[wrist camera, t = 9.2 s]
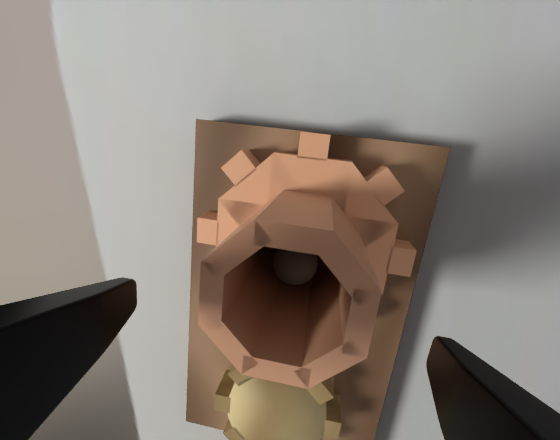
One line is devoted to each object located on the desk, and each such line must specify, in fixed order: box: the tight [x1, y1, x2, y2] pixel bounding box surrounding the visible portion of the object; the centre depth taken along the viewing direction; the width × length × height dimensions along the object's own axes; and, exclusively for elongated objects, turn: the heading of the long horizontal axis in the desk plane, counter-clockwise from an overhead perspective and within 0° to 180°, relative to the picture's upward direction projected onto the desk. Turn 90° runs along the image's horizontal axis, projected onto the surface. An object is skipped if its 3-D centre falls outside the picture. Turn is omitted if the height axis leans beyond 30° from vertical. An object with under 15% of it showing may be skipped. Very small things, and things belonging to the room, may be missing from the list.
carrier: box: [186, 119, 450, 440], centre depth 16 cm, size 13×21×6 cm, turn 173°
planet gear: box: [197, 132, 417, 389], centre depth 13 cm, size 11×11×8 cm
